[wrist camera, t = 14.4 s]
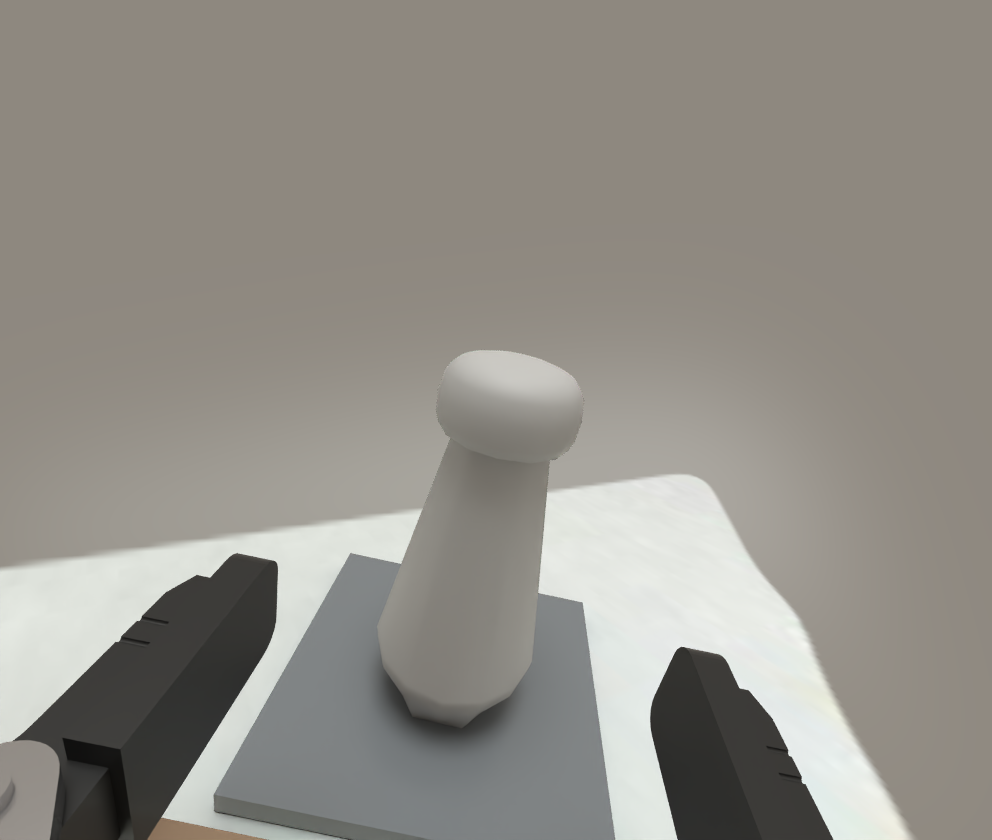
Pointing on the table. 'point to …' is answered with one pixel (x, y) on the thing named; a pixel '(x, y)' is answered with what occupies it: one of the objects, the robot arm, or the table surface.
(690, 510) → the table surface
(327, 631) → the slate board
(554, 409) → the salt shaker
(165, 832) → the walnut stand
